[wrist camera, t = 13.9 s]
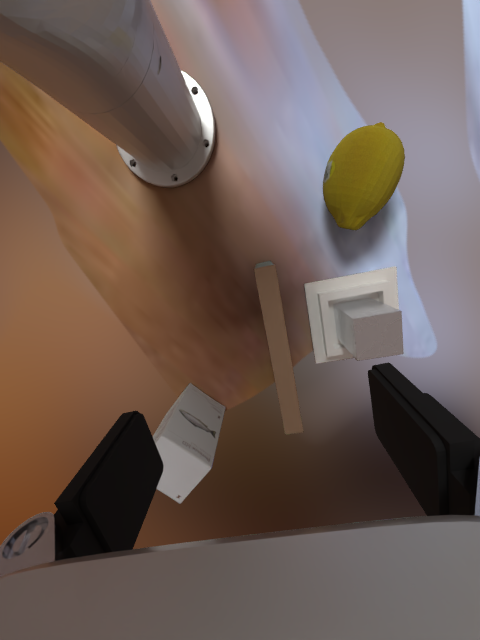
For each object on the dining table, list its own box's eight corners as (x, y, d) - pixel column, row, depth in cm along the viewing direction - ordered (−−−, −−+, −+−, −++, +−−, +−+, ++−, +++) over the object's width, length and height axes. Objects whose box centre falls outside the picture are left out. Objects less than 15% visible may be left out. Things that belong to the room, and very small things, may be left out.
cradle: (303, 283, 36) (306, 285, 34) (394, 266, 35) (402, 267, 33) (315, 362, 39) (318, 368, 37) (399, 349, 37) (406, 354, 36)
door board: (255, 263, 36) (253, 269, 26) (271, 260, 36) (275, 264, 26) (279, 391, 41) (285, 434, 31) (293, 389, 40) (303, 432, 31)
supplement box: (227, 406, 42) (214, 470, 30) (201, 436, 44) (179, 507, 32) (190, 380, 41) (161, 434, 29) (165, 411, 43) (128, 475, 31)
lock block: (333, 304, 36) (353, 319, 28) (370, 297, 35) (401, 311, 28) (336, 337, 37) (357, 360, 30) (373, 332, 37) (403, 353, 29)
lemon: (339, 127, 31) (365, 87, 23) (398, 153, 31) (444, 122, 24) (300, 217, 34) (312, 208, 26) (354, 240, 34) (382, 238, 26)
